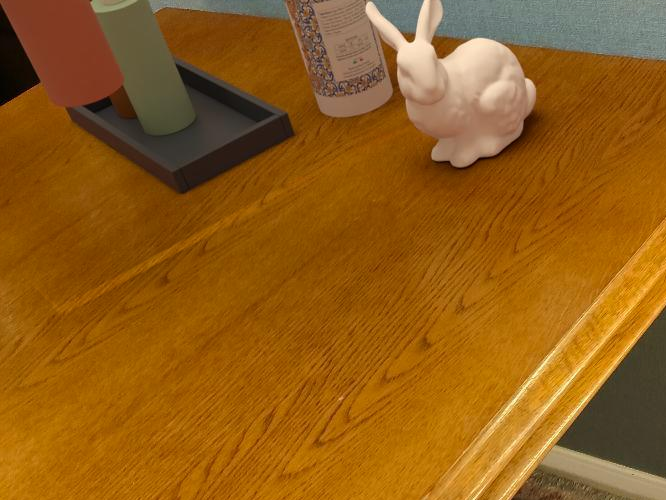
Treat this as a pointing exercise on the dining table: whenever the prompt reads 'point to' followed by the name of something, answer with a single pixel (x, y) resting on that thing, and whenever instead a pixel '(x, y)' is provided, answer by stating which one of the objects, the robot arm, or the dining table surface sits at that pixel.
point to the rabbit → (459, 89)
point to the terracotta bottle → (66, 49)
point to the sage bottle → (145, 65)
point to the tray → (192, 131)
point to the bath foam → (341, 55)
